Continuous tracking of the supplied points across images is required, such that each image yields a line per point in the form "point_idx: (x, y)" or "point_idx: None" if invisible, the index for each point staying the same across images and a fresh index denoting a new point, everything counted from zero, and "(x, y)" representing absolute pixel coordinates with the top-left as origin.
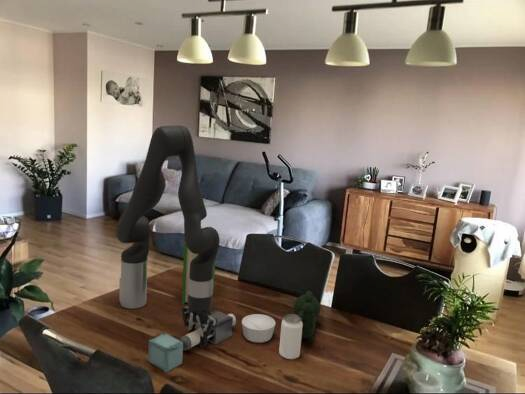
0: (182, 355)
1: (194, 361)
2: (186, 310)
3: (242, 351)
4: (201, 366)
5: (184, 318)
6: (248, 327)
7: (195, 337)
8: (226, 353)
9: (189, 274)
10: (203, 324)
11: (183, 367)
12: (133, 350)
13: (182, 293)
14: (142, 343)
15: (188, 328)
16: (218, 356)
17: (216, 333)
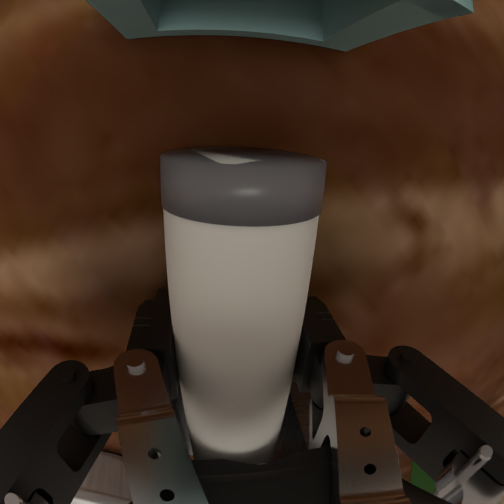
0: (105, 17)
1: (76, 127)
2: (483, 477)
3: (29, 389)
4: (8, 130)
5: (454, 398)
6: (79, 500)
7: (180, 298)
8: (40, 340)
9: (500, 500)
10: (298, 442)
11: (85, 20)
12: (475, 9)
13: None
14: (494, 87)
15: (353, 347)
16: (33, 292)
17: None
